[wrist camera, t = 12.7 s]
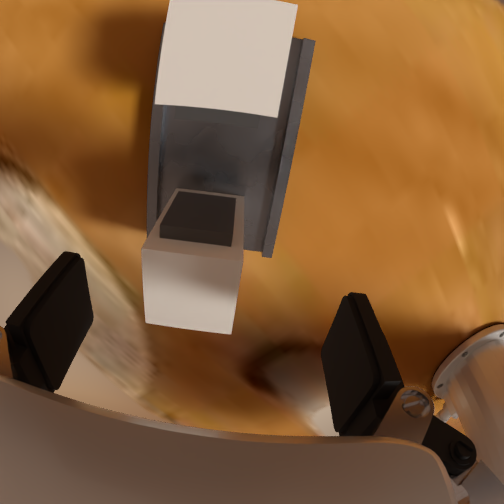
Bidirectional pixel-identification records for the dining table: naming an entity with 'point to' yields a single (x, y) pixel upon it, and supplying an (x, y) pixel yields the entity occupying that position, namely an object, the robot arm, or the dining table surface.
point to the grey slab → (231, 155)
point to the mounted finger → (225, 59)
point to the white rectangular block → (194, 262)
